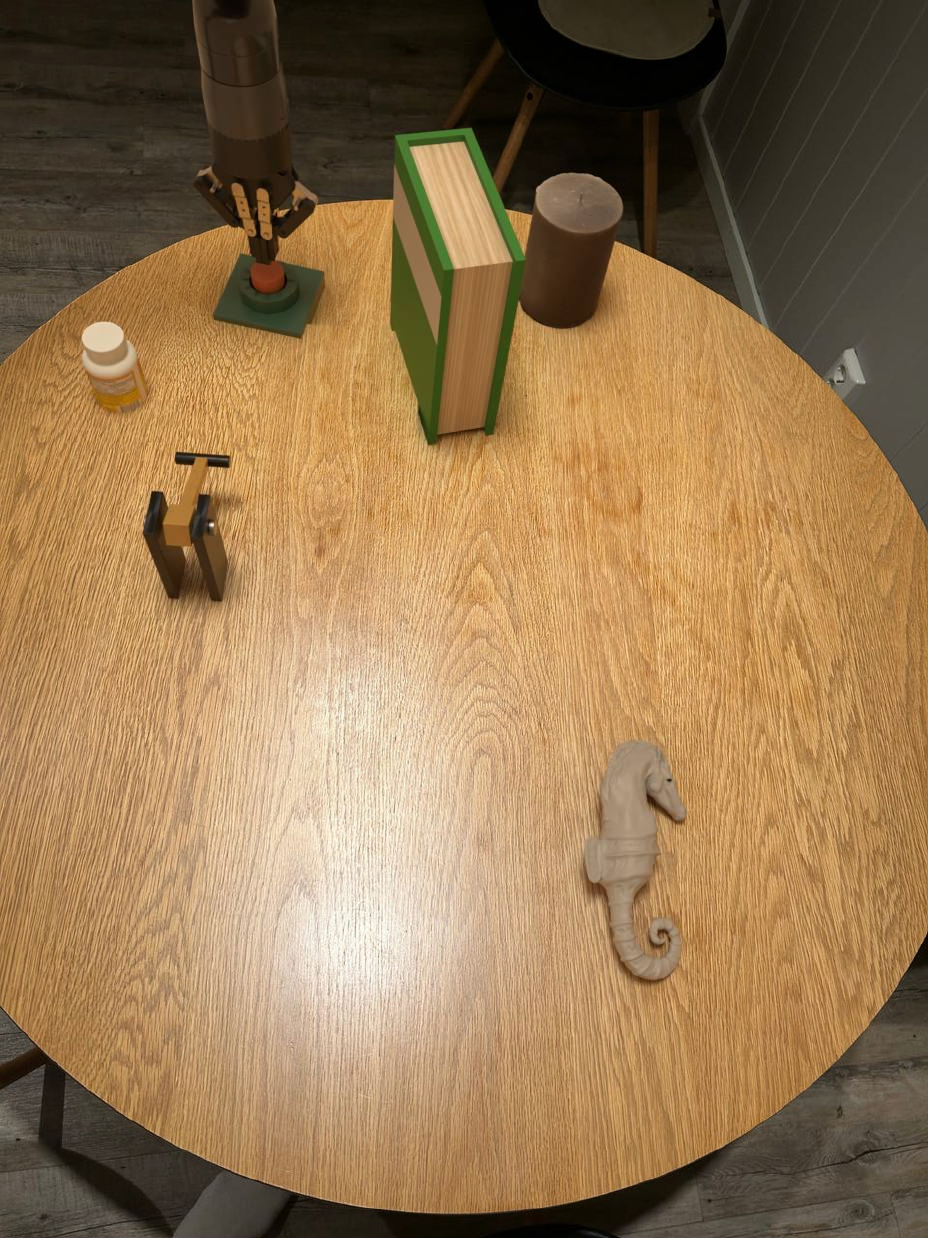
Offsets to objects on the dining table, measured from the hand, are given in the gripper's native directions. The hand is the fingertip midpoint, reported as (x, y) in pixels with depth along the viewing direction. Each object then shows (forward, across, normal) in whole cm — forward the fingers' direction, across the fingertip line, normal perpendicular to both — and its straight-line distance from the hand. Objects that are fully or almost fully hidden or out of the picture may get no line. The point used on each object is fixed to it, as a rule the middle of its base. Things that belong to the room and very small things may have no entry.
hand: (266, 258), depth 102 cm
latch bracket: (+7, +4, -37) cm, 38 cm away
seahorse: (+7, +49, -54) cm, 73 cm away
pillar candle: (+7, +32, +11) cm, 35 cm away
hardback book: (+7, +21, -5) cm, 23 cm away
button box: (+7, 0, 0) cm, 7 cm away
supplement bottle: (+7, -11, -17) cm, 22 cm away
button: (+3, 0, 0) cm, 3 cm away
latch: (-1, +3, -33) cm, 33 cm away
